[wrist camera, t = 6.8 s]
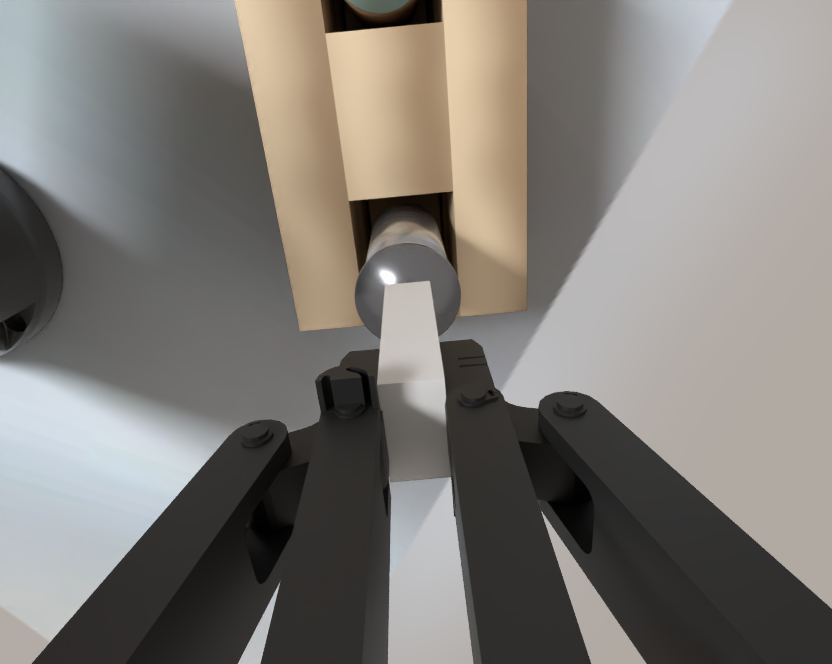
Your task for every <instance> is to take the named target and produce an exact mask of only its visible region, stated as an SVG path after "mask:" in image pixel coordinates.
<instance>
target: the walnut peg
mask: <svg viewBox="0 0 832 664" xmlns="http://www.w3.org/2000/svg"><path fill="white" fill-rule="evenodd" d="M345 2H346V3H347V5H348V7H349V8H350V10H351V11H352V13H353V15H354V16H355V17H356V19H357V20H358V21H359V22H360V23H361V24H362V25H363V26H364V27H366V28H367V29H377V28H387V27H397V26H405V25H406V24H407V23H408V22H409V21H410V20H411V19H412V17H413V16H414V14H415V12H416V10H417V7H418V3H419V0H345Z"/></svg>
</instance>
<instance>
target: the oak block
mask: <svg viewBox="0 0 832 664" xmlns="http://www.w3.org/2000/svg"><path fill="white" fill-rule="evenodd" d="M343 2H344V10H345V18H346V26H347V31H346V32H345V31H344V23H343V15H342V7H341V0H235V5H236V10H237V15H238V20H239V25H240V30H241V35H242V40H243V45H244V50H245V55H246V60H247V65H248V71H249V76H250V81H251V86H252V91H253V96H254V101H255V106H256V111H257V116H258V121H259V126H260V131H261V136H262V141H263V147H264V152H265V157H266V162H267V167H268V172H269V177H270V182H271V187H272V192H273V197H274V202H275V207H276V212H277V217H278V222H279V228H280V233H281V238H282V243H283V248H284V253H285V258H286V263H287V268H288V273H289V278H290V283H291V288H292V293H293V298H294V303H295V309H296V314H297V319H298V324H299V329H300V331H310V330H320V329H331V328H342V327H353V326H364V324H363V322H362V321H361V319H360V317H359V315H358V312H357V310H356V305H355V297H354V296H355V287H356V282H357V278H358V276H359V273H360V271H361V269H362V267H363V266H364V265H365V263H366V258H367V253H368V248H369V243H370V230H369V222H368V214H367V206H366V199H368V203H369V211H370V219H371V227H372V228H373V225H374V222H375V220H376V219H377V217H378V216H379V215H380V213H381V212H382V211H384V210H385V209H386V208H388V207H390V206H392V205H394V204H398V203H413V204H417V205H419V206H421V207H423V208H425V209H426V210H427V211H428V212H429V213H431V215H432V216H433V217H434V219H435V220H436V223H437V225H438V228H439V232H440V235H441V222H440V208H439V193H440V192H441V200H442V215H443V230H444V240H442V243H443V246H444V250H445V253H446V257H447V260H448V261H449V263H450V264H451V265H452V267H453V268H454V270H455V272H456V274H457V277H458V280H459V284H460V288H461V303H460V308H459V311H458V314H457V316H456V317H462V316H473V315H484V314H495V313H506V312H517V311H527V0H428V5H429V20H430V23H428V24H427V18H426V4H425V0H419V3H418V7H417V10H416V12H415V14H414V16H413V17H412V19H411V20H410V21H409V22H408V23H407V24H406V25H405V26H397V27H387V28H377V29H367V28H366V27H364V26H363V25H362V24H361V23H360V22H359V21H358V20H357V19H356V17H355V16H354V15H353V13H352V11H351V10H350V8H349V7H348V5H347V3H346V2H345V0H343ZM441 239H442V237H441Z"/></svg>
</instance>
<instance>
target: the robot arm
mask: <svg viewBox="0 0 832 664" xmlns="http://www.w3.org/2000/svg"><path fill="white" fill-rule="evenodd" d="M61 289H62V267H61V260H60V255H59V251H58V248H57V245H56V242H55V239H54V237H53V234H52V232H51V230H50V228H49V226H48V224H47V222H46V220H45V219H44V217H43V215H42V214H41V212H40V211H39V209H38V208H37V206H36V205H35V204H34V202H33V201H32V200H31V198H30V197H29V196H28V195H27V194H26V193H25V191H24V190H23V189H22V188H21V187H20V186H19V185H18V184H17V183H16V182H15V181H14V180H13V179H12V178H11V177H10V176H8V175H7V174H6V173H5V172H4V171H2V170H1V169H0V356H1V355H4V354H6V353H8V352H10V351H12V350H13V349H15V348H16V347H18V346H19V345H21V344H22V343H24V342H25V341H27V340H28V339H30V338H31V337H33V336H34V335H35V334H37V333H38V332H39V331H40V330H41V329H42V328H43V327H44V326H45V325H46V324H47V323H48V321H49V320H50V319H51V317H52V315H53V314H54V312H55V310H56V308H57V305H58V302H59V299H60V295H61ZM315 383H316V388H317V394H318V399H319V404H320V409H321V416H320V420H319V422H317V423H316V424H314V425H312V426H309V427H307V428H304V429H301V430H297V431H294V432H290V433H288V431H287V428H286V425H284V424H283V423H281V422H280V421H275V420H258V421H255V422H254V421H253V422H250V423H248V424H246V425H244V426H242V427H240V428H238V429H237V430H235V431H234V432H233V433H232V434H231V435H230V436H229V437H228V438H227V439H226V440H225V441H224V442H223V444H222V445H221V446H220V447H219V448H218V449H217V451H216V452H215V453H214V454H213V455H212V456H211V457H210V459H209V460H208V461H207V462H206V463H205V464H204V466H203V467H202V468H201V469H200V470H199V471H198V472H197V474H196V475H195V476H194V477H193V478H192V479H191V481H190V482H189V483H188V484H187V485H186V486H185V487H184V489H183V490H182V491H181V492H180V493H179V494H178V496H177V497H176V498H175V499H174V500H173V501H172V502H171V504H170V505H169V506H168V507H167V508H166V509H165V511H164V512H163V513H162V514H161V515H160V516H159V517H158V519H157V520H156V521H155V522H154V523H153V524H152V525H151V527H150V528H149V529H148V530H147V531H146V532H145V534H144V535H143V536H142V537H141V538H140V539H139V540H138V542H137V543H136V544H135V545H134V546H133V547H132V549H131V550H130V551H129V552H128V553H127V554H126V555H125V557H124V558H123V559H122V560H121V561H120V562H119V564H118V565H117V566H116V567H115V568H114V569H113V570H112V572H111V573H110V574H109V575H108V576H107V577H106V579H105V580H104V581H103V582H102V583H101V584H100V585H99V587H98V588H97V589H96V590H95V591H94V592H93V594H92V595H91V596H90V597H89V598H88V599H87V600H86V602H85V603H84V604H83V605H82V606H81V607H80V609H79V610H78V611H77V612H76V613H75V614H74V615H73V617H72V618H71V619H70V620H69V621H68V622H67V624H66V625H65V626H64V627H63V628H62V629H61V630H60V632H59V633H58V634H57V635H56V636H55V637H54V639H53V640H52V641H51V642H50V643H49V644H48V645H47V647H46V648H45V649H44V650H43V651H42V652H41V654H40V655H39V656H38V657H37V658H36V659H35V661H34V662H33V663H32V664H238V662H239V660H240V658H241V656H242V654H243V652H244V650H245V648H246V646H247V644H248V643H249V641H250V639H251V637H252V635H253V633H254V631H255V629H256V627H257V625H258V623H259V621H260V619H261V617H262V615H263V614H264V612H265V610H266V608H267V606H268V604H269V602H270V600H271V598H272V596H273V594H274V592H275V590H276V588H277V586H278V585H279V583H280V586H279V590H278V594H277V598H276V602H275V606H274V611H273V615H272V619H271V623H270V627H269V631H268V635H267V640H266V644H265V648H264V652H263V656H262V660H261V664H388V620H389V570H390V520H391V494H390V486H389V476H390V482H399V481H410V480H422V479H433V478H444V477H451V480H452V494H453V507H454V516H455V517H456V525H457V533H458V541H459V549H460V557H461V565H462V573H463V581H464V589H465V598H466V606H467V614H468V622H469V629H470V638H471V646H472V654H473V662H474V664H591V662H590V659H589V656H588V653H587V650H586V647H585V644H584V640H583V638H582V635H581V632H580V628H579V625H578V622H577V619H576V616H575V613H574V610H573V607H572V604H571V601H570V598H569V595H568V592H567V589H566V586H565V583H564V580H563V576H562V573H561V570H560V568H559V564H558V561H557V559H556V555H555V552H554V549H553V546H552V543H551V540H550V537H549V534H548V531H547V528H546V525H545V522H544V519H543V516H542V513H541V511H542V512H543V514H544V515H545V516H546V518H547V519H548V521H549V522H550V524H551V525H552V527H553V528H554V530H555V531H556V532H557V534H558V535H559V537H560V538H561V540H562V541H563V543H564V544H565V546H566V547H567V548H568V550H569V551H570V553H571V554H572V556H573V557H574V559H575V560H576V562H577V563H578V564H579V566H580V567H581V569H582V570H583V572H584V573H585V574H586V576H587V578H588V579H589V580H590V582H591V583H592V585H593V586H594V587H595V589H596V591H597V592H598V594H599V595H600V596H601V598H602V599H603V601H604V602H605V604H606V605H607V607H608V608H609V610H610V611H611V612H612V614H613V615H614V617H615V618H616V620H617V621H618V623H619V624H620V626H621V627H622V628H623V630H624V631H625V633H626V634H627V636H628V637H629V639H630V640H631V641H632V643H633V644H634V646H635V647H636V649H637V650H638V652H639V653H640V654H641V656H642V657H643V659H644V660H645V662H646V663H647V664H832V609H831V608H830V607H829V606H828V605H827V604H826V603H824V602H823V601H822V600H821V599H820V598H819V597H818V596H817V595H815V594H814V593H813V592H812V591H811V590H810V589H808V588H807V587H806V586H805V585H804V584H803V583H802V582H801V581H800V580H798V579H797V578H796V577H795V576H794V575H793V574H792V573H791V572H789V571H788V570H787V569H786V568H785V567H784V566H783V565H782V564H781V563H779V562H778V561H777V560H776V559H775V558H774V557H773V556H771V555H770V554H769V553H768V552H767V551H766V550H765V549H764V548H762V547H761V546H760V545H759V544H758V543H757V542H756V541H754V540H753V539H752V538H751V537H750V536H749V535H748V534H746V532H744V531H743V530H742V529H741V528H740V527H739V526H738V525H736V524H735V523H734V522H733V521H732V520H731V519H730V518H729V517H727V516H726V515H725V514H724V513H723V512H722V511H721V510H720V509H718V508H717V507H716V506H715V505H714V504H713V503H712V502H710V501H709V500H708V499H707V498H706V497H705V496H704V495H703V494H701V493H700V492H699V491H698V490H697V489H696V488H695V487H694V486H692V485H691V484H690V483H689V482H688V481H687V480H686V479H685V478H684V477H682V476H681V475H680V474H679V473H678V472H677V471H676V470H674V469H673V468H672V467H671V466H670V465H669V464H667V462H665V461H664V460H663V459H662V458H661V457H660V456H659V455H658V454H656V453H655V452H654V451H653V450H652V449H651V448H649V447H648V446H647V445H646V444H645V443H644V442H643V441H642V440H641V439H640V438H638V437H637V436H636V435H635V434H634V433H633V432H632V431H631V430H629V429H628V428H627V427H626V426H625V425H624V424H622V423H621V422H620V421H619V420H618V419H617V418H616V417H615V416H614V415H612V414H611V413H610V412H609V411H608V410H607V409H606V408H605V407H603V406H602V405H601V404H600V403H599V402H597V401H596V400H595V399H593V398H592V397H590V396H588V395H584V394H581V393H578V392H569V391H564V392H556V393H553V394H550V395H547V396H545V397H544V398H543V399H542V400H541V401H540V403H539V408H538V409H536V408H526V407H520V406H516V405H513V404H509V403H508V402H506V401H505V400H504V397H503V395H502V394H501V392H500V391H499V390H497V389H496V388H495V387H494V383H493V380H492V377H491V374H490V371H489V368H488V365H487V361H486V358H485V355H484V352H483V348H482V346H480V345H479V344H478V343H476V342H475V341H474V340H472V339H470V340H459V341H448V342H439V338H438V332H437V325H436V318H435V312H434V305H433V299H432V292H431V285H430V281H422V282H411V283H400V284H389V285H385V291H384V304H383V316H382V328H381V341H380V349H374V350H363V351H352V352H349V353H348V354H347V355H346V356H345V357H344V358H343V359H342V360H341V363H340V366H338V367H334V368H332V369H329V370H327V371H325V372H324V373H322V374H321V375H319V376H318V378H317V379H316V381H315Z"/></svg>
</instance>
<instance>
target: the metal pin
mask: <svg viewBox="0 0 832 664" xmlns="http://www.w3.org/2000/svg"><path fill="white" fill-rule="evenodd" d="M422 281H430V285H431V292H432V299H433V305H434V312H435V318H436V325H437V332H438V337H439V336H440V335H441V334H443V333H444V332H445V331H446V330H447V329H448V328H449V327H450V325H451V324H452V323H453V321H454V320H455V318H456V316H457V314H458V311H459V308H460V303H461V288H460V284H459V280H458V277H457V274H456V272H455V270H454V268H453V267H452V265H451V264H450V263H449V261H448V260H447V257H446V253H445V250H444V246H443V243H442V239H441V235H440V232H439V228H438V225H437V223H436V220H435V219H434V217H433V216H432V215H431V213H429V212H428V211H427V210H426V209H425V208H423V207H421V206H419V205H417V204H413V203H398V204H394V205H392V206H390V207H388V208H386V209H385V210H384V211H382V212H381V213H380V215H379V216H378V217H377V219H376V220H375V222H374V225H373V228H372V233H371V238H370V243H369V248H368V253H367V258H366V263H365V265H364V266H363V267H362V269H361V271H360V273H359V276H358V278H357V282H356V287H355V296H354V297H355V305H356V310H357V312H358V315H359V317H360V319H361V321H362V322H363V324H364V325H365V326H366V327H367V329H368V330H369V331H370V332H372V333H373V334H374V335H375V336H377V337H378V338H380V339H381V328H382V316H383V304H384V291H385V285H389V284H400V283H411V282H422Z"/></svg>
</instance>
